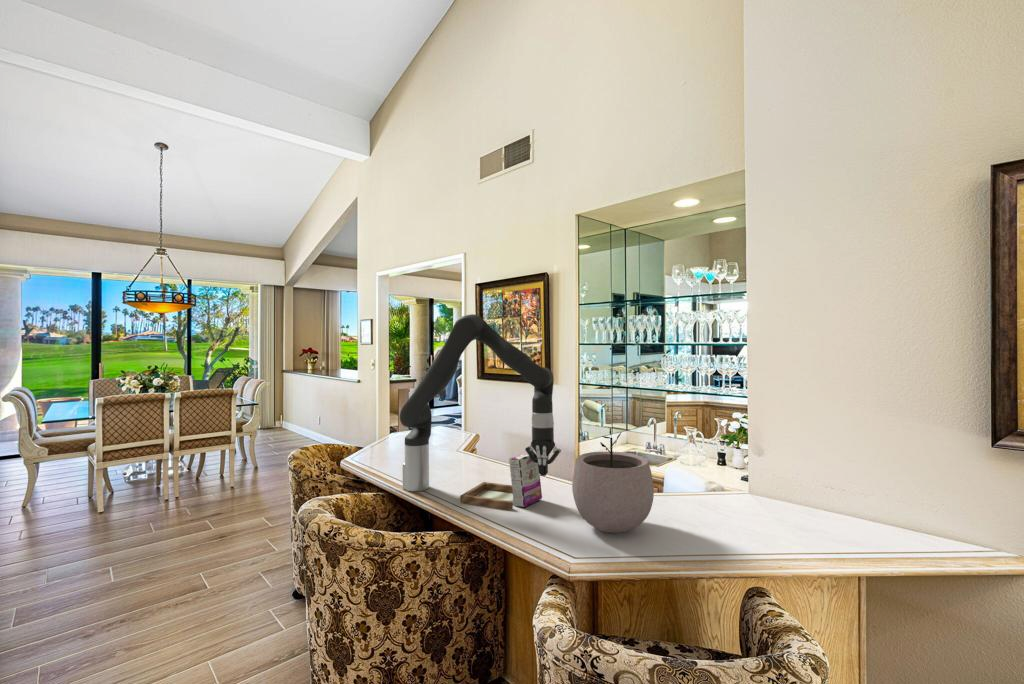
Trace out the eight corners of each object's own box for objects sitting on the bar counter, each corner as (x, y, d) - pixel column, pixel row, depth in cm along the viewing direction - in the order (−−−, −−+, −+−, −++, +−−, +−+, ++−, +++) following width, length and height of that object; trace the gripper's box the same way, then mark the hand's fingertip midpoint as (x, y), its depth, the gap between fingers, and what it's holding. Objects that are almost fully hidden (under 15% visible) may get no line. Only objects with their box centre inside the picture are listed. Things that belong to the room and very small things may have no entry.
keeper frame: (460, 502, 165) (460, 495, 165) (483, 488, 182) (483, 481, 182) (510, 510, 157) (510, 502, 157) (530, 494, 174) (530, 487, 174)
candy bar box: (531, 497, 170) (527, 451, 171) (542, 498, 167) (538, 452, 168) (512, 506, 161) (508, 457, 162) (524, 507, 158) (520, 458, 159)
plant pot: (558, 520, 148) (558, 424, 148) (623, 510, 157) (623, 420, 157) (598, 551, 126) (598, 438, 126) (672, 537, 134) (671, 432, 134)
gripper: (520, 425, 162) (521, 476, 162) (557, 428, 156) (558, 480, 156) (528, 422, 169) (529, 470, 169) (564, 424, 163) (565, 474, 163)
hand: (543, 475), depth 162 cm, fingers closed
